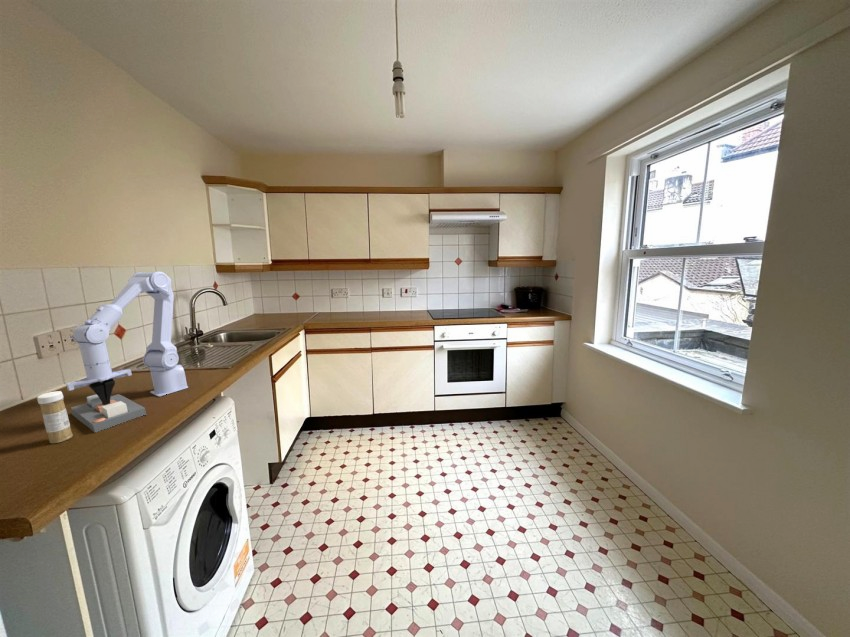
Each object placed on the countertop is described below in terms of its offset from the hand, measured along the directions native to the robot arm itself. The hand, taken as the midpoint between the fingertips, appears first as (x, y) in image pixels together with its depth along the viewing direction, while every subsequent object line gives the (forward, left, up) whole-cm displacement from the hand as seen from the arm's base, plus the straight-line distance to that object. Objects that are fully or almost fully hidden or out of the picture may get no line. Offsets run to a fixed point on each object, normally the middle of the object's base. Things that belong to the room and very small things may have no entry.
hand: (106, 403), depth 105 cm
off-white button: (0, +8, -2) cm, 8 cm away
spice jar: (+12, +8, -4) cm, 15 cm away
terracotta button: (0, 0, -3) cm, 3 cm away
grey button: (0, -8, -2) cm, 8 cm away
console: (0, 0, -4) cm, 4 cm away
